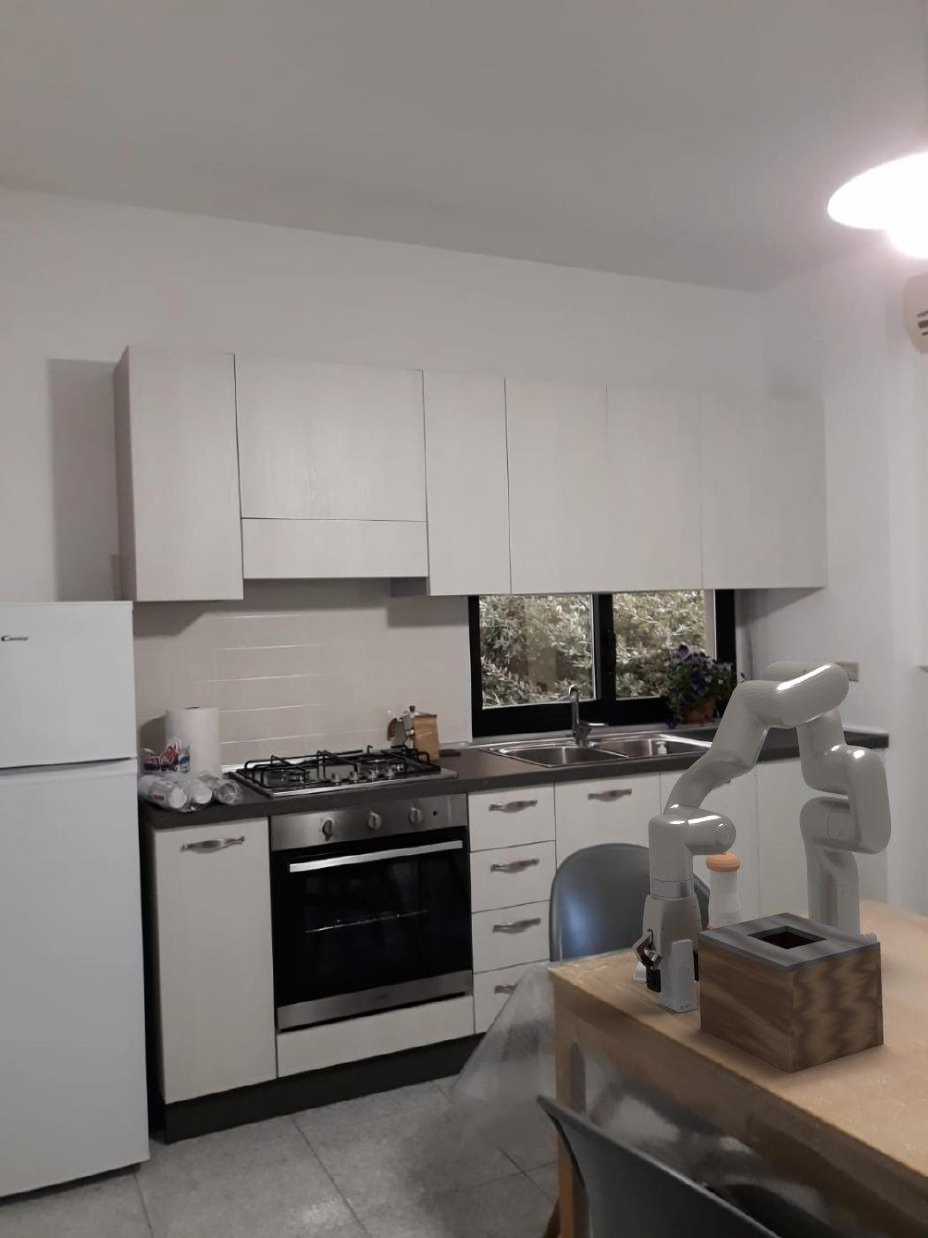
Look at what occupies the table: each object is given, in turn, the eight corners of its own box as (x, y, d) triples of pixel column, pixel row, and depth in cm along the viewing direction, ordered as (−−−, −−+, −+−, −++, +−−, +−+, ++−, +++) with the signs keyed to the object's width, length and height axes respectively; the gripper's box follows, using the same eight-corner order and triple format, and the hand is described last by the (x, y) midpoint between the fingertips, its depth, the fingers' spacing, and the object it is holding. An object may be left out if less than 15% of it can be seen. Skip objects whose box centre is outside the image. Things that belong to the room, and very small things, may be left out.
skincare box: (697, 1009, 183) (695, 939, 183) (676, 1014, 181) (674, 944, 181) (675, 998, 188) (673, 930, 188) (655, 1003, 186) (652, 934, 186)
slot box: (789, 1003, 184) (786, 912, 183) (883, 1043, 166) (880, 942, 166) (700, 1028, 174) (697, 932, 174) (790, 1073, 157) (786, 966, 156)
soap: (638, 968, 206) (638, 953, 206) (673, 970, 203) (673, 955, 203) (631, 984, 197) (630, 968, 197) (667, 987, 195) (667, 971, 195)
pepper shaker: (719, 934, 224) (716, 844, 223) (750, 941, 218) (747, 849, 218) (701, 942, 218) (697, 850, 218) (731, 950, 213) (728, 855, 213)
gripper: (696, 875, 192) (699, 970, 192) (618, 890, 184) (622, 988, 184) (724, 884, 185) (727, 982, 185) (645, 899, 177) (648, 1002, 177)
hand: (675, 985), depth 184 cm, fingers open, 8 cm apart
